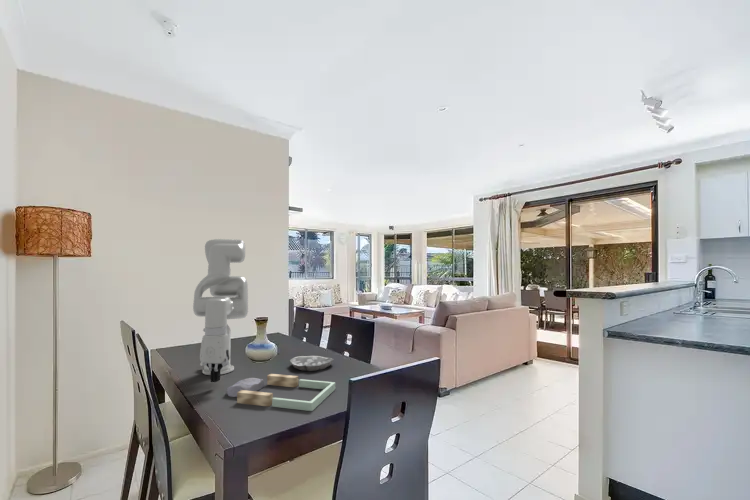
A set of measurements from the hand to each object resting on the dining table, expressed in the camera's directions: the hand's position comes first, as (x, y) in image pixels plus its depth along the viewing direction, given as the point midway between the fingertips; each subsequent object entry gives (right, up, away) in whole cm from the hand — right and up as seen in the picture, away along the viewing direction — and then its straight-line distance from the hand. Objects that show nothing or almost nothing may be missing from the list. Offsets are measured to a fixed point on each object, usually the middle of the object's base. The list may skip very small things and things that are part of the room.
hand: (215, 381), depth 134 cm
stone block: (+12, -3, -3) cm, 13 cm away
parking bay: (+35, -2, -9) cm, 37 cm away
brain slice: (+31, -4, +28) cm, 41 cm away
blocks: (+22, -3, -5) cm, 23 cm away
